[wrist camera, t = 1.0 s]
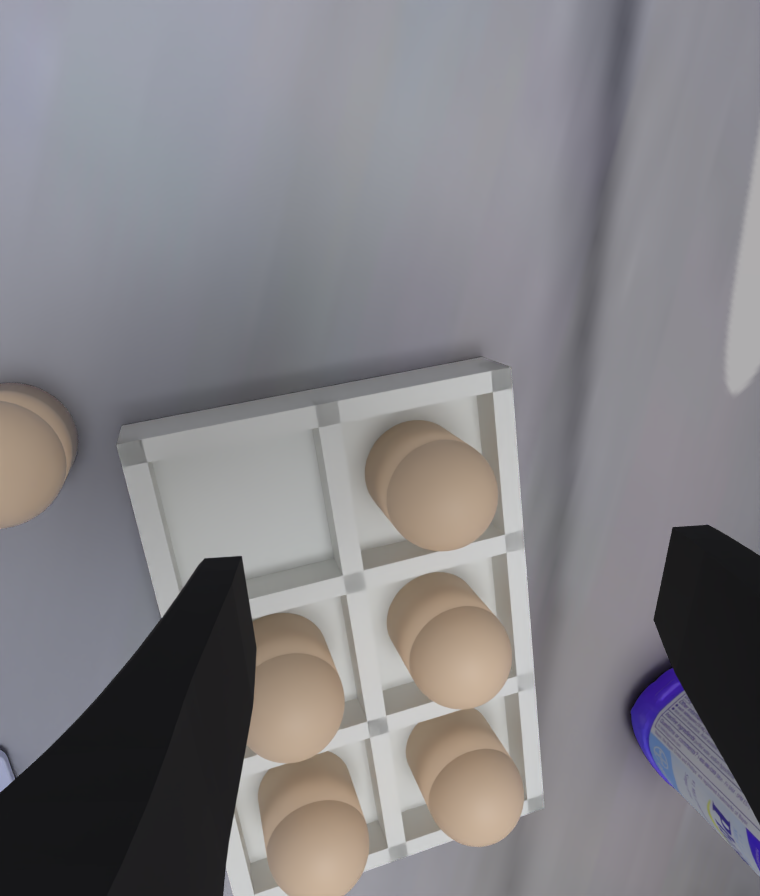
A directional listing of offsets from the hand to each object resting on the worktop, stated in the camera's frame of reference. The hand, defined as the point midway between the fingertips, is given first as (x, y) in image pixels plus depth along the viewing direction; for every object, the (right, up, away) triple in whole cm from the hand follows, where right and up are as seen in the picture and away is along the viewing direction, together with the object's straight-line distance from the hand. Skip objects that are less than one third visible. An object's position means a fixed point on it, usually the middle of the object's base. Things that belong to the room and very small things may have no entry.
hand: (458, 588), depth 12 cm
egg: (-14, +3, +13) cm, 19 cm away
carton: (-2, -5, +18) cm, 19 cm away
